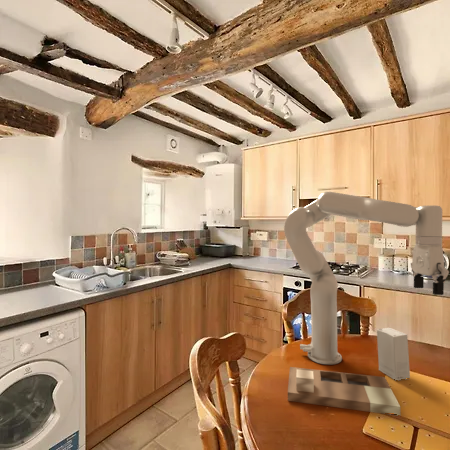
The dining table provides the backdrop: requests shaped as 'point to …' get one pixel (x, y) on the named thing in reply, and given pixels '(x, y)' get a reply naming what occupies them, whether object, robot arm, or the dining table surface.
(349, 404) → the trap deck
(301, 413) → the dining table surface
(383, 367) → the skincare box
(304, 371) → the maple block
